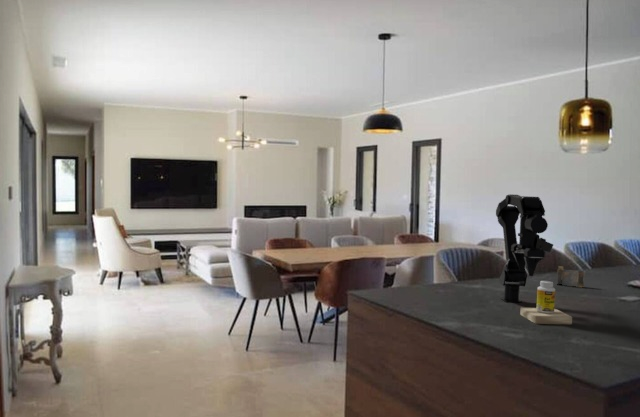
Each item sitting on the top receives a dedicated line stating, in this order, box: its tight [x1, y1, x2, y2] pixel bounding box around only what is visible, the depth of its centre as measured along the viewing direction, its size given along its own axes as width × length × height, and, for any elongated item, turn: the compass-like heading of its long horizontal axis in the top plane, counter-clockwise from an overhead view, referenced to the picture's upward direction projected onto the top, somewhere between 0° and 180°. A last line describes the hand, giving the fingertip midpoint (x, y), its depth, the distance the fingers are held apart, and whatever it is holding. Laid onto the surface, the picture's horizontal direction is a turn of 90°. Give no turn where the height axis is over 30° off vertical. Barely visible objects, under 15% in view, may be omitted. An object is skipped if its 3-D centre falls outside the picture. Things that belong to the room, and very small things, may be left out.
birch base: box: [519, 307, 573, 325], centre depth 175 cm, size 12×12×2 cm
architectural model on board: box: [556, 265, 586, 288], centre depth 242 cm, size 11×3×10 cm, turn 64°
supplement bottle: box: [535, 280, 556, 313], centre depth 175 cm, size 6×6×10 cm
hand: (526, 274), depth 188 cm, fingers open, 9 cm apart
